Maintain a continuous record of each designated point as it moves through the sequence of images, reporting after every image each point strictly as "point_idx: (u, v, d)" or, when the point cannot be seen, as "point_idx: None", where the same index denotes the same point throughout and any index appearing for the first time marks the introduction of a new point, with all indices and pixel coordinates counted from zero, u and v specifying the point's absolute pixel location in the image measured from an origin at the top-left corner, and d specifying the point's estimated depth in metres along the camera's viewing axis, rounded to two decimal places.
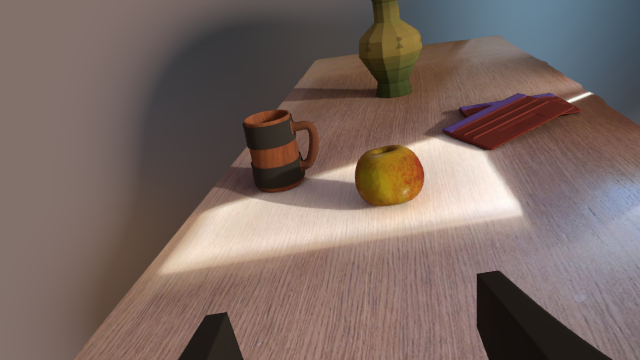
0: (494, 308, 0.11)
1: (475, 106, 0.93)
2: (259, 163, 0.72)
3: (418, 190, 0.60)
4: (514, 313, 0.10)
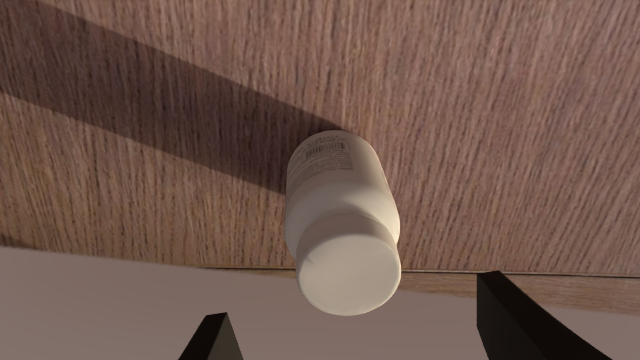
0: (494, 308, 0.11)
1: None
2: None
3: None
4: (514, 313, 0.10)
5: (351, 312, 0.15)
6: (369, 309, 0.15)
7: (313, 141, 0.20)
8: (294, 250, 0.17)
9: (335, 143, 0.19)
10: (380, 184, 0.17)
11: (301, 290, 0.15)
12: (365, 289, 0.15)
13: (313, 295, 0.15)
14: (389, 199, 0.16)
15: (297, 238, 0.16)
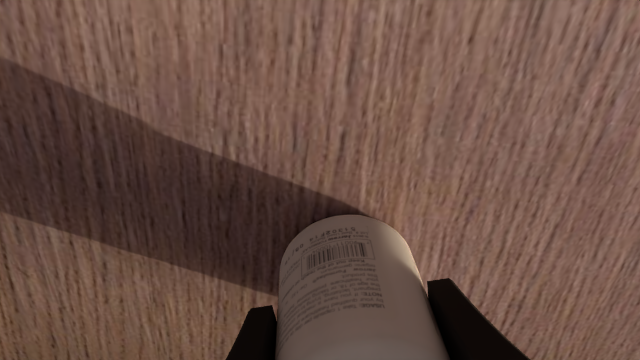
0: (440, 316, 0.11)
1: None
2: None
3: None
4: (455, 322, 0.11)
5: None
6: None
7: (318, 235, 0.13)
8: None
9: (351, 243, 0.13)
10: (427, 330, 0.10)
11: None
12: None
13: None
14: None
15: None
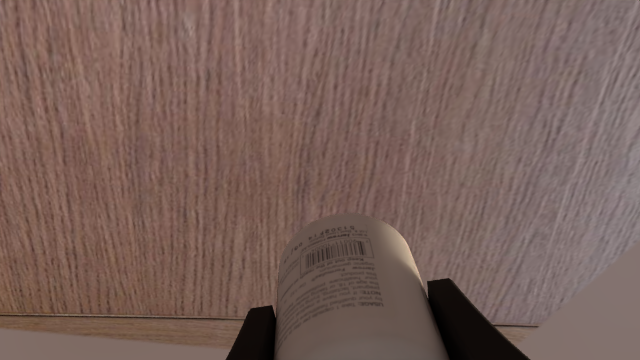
0: (440, 316, 0.11)
1: None
2: None
3: None
4: (455, 322, 0.11)
5: None
6: None
7: (317, 234, 0.13)
8: None
9: (350, 242, 0.13)
10: (426, 328, 0.10)
11: None
12: None
13: None
14: (442, 358, 0.10)
15: None
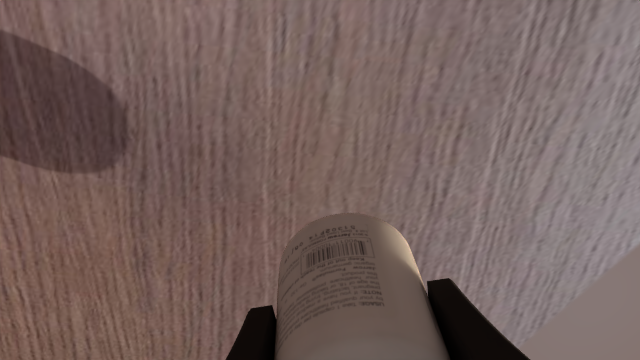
0: (440, 316, 0.11)
1: None
2: None
3: None
4: (455, 322, 0.11)
5: None
6: None
7: (318, 233, 0.13)
8: None
9: (351, 241, 0.13)
10: (427, 328, 0.10)
11: None
12: None
13: None
14: (443, 358, 0.10)
15: None
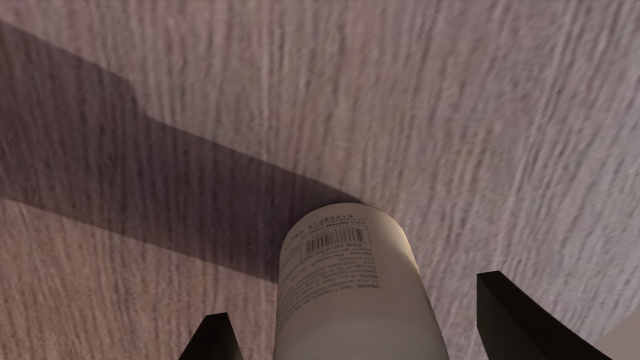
0: (494, 308, 0.11)
1: None
2: None
3: None
4: (514, 313, 0.10)
5: None
6: None
7: (317, 222, 0.14)
8: None
9: (349, 229, 0.13)
10: (421, 309, 0.11)
11: None
12: None
13: None
14: (436, 337, 0.11)
15: None
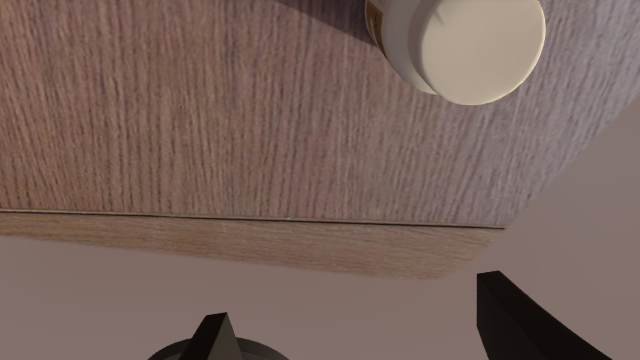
0: (494, 308, 0.11)
1: None
2: None
3: None
4: (514, 313, 0.10)
5: (477, 99, 0.13)
6: (499, 95, 0.13)
7: None
8: (397, 46, 0.14)
9: None
10: None
11: (422, 64, 0.12)
12: (499, 63, 0.12)
13: (435, 72, 0.12)
14: None
15: (403, 27, 0.14)
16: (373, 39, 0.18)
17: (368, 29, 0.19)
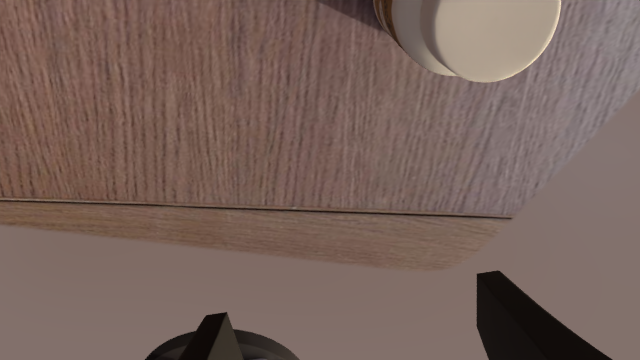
0: (494, 308, 0.11)
1: None
2: None
3: None
4: (514, 313, 0.10)
5: (491, 76, 0.13)
6: (513, 71, 0.13)
7: None
8: (409, 25, 0.14)
9: None
10: None
11: (435, 39, 0.12)
12: (513, 39, 0.12)
13: (449, 48, 0.12)
14: None
15: (415, 5, 0.14)
16: (381, 23, 0.18)
17: (376, 13, 0.18)
